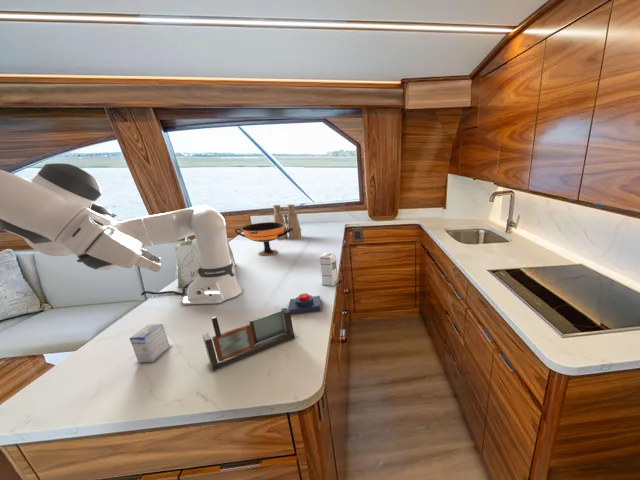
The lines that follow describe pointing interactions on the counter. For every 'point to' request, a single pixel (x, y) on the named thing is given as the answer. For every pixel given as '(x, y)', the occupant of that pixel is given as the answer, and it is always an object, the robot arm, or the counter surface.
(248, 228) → the cup
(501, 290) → the counter surface
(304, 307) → the button box
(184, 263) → the grocery bag
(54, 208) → the robot arm
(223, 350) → the sash
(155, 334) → the medicine box
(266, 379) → the counter surface
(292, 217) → the binoculars
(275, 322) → the window frame
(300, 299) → the button
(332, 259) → the syrup box
